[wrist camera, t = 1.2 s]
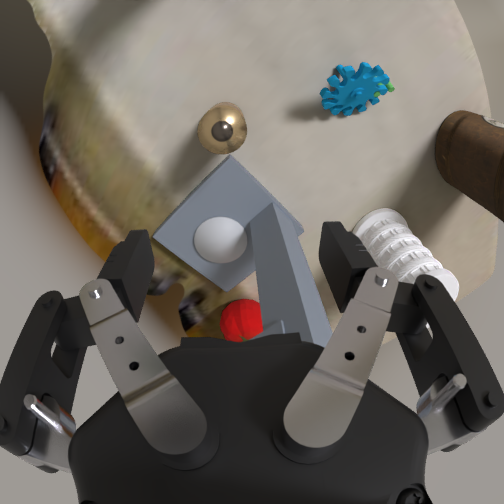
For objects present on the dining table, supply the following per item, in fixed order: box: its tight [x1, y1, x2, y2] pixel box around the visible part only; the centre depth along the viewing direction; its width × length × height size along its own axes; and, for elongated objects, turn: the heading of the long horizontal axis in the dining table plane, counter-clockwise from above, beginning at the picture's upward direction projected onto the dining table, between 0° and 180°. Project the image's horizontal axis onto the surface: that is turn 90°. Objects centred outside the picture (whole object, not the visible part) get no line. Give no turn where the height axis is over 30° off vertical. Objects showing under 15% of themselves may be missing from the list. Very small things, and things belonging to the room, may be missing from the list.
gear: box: [320, 62, 395, 116], centre depth 30 cm, size 11×6×10 cm
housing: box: [198, 102, 247, 154], centre depth 31 cm, size 5×5×10 cm
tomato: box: [220, 299, 263, 342], centre depth 51 cm, size 9×10×8 cm
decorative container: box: [352, 208, 459, 328], centre depth 39 cm, size 12×12×18 cm
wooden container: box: [435, 111, 504, 222], centre depth 28 cm, size 15×15×22 cm
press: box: [153, 155, 333, 348], centre depth 31 cm, size 25×17×35 cm
